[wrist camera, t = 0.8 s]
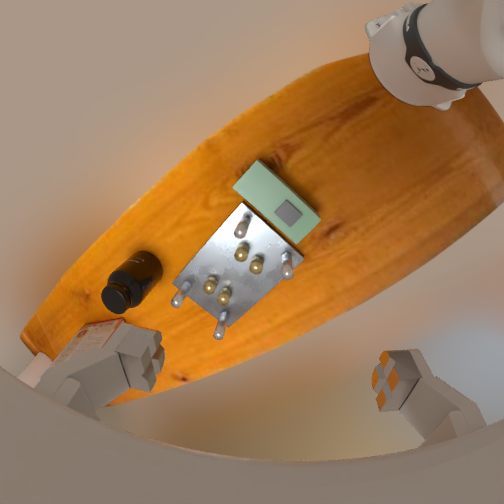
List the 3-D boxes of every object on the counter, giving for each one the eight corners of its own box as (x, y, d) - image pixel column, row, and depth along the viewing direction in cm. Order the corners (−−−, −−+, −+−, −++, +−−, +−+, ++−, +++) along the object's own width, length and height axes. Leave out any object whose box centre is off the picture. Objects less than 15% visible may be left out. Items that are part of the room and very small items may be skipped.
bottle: (35, 351, 66) (-11, 405, 38) (46, 352, 64) (-3, 411, 37) (47, 368, 69) (5, 424, 41) (59, 370, 67) (15, 431, 39)
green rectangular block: (237, 183, 41) (231, 188, 36) (258, 158, 39) (256, 160, 34) (294, 234, 43) (296, 246, 38) (317, 212, 41) (322, 221, 36)
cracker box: (96, 342, 58) (54, 399, 38) (84, 323, 56) (36, 378, 36) (136, 338, 55) (93, 407, 36) (124, 316, 53) (73, 383, 34)
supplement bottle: (145, 243, 46) (109, 272, 35) (170, 271, 47) (141, 308, 36) (124, 263, 48) (89, 294, 37) (147, 290, 49) (118, 326, 38)
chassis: (242, 201, 41) (235, 212, 35) (303, 256, 44) (307, 276, 37) (174, 280, 48) (159, 301, 41) (229, 323, 50) (222, 348, 44)
